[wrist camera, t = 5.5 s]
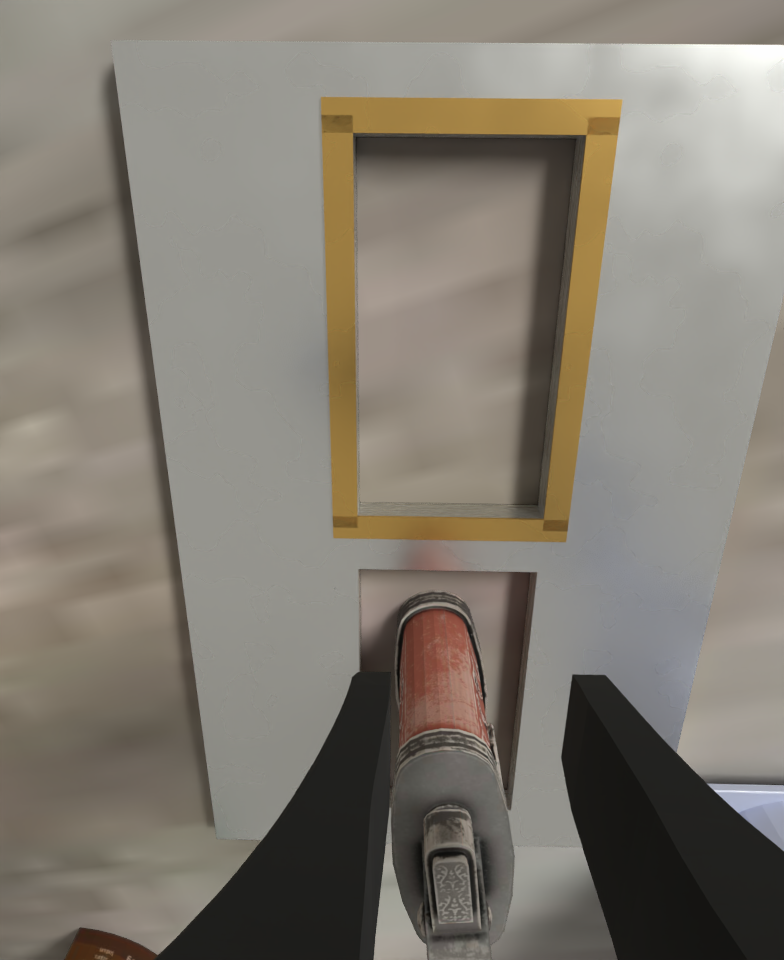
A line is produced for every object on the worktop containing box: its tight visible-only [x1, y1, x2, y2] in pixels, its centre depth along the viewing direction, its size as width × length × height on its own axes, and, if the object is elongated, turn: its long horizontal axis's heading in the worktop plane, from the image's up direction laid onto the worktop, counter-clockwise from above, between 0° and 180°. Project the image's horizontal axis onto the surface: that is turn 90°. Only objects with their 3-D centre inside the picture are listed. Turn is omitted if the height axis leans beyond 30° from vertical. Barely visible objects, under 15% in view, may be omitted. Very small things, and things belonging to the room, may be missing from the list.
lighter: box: [391, 590, 515, 960], centre depth 21 cm, size 8×3×10 cm, turn 6°
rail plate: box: [111, 40, 784, 848], centre depth 22 cm, size 28×18×1 cm, turn 179°
